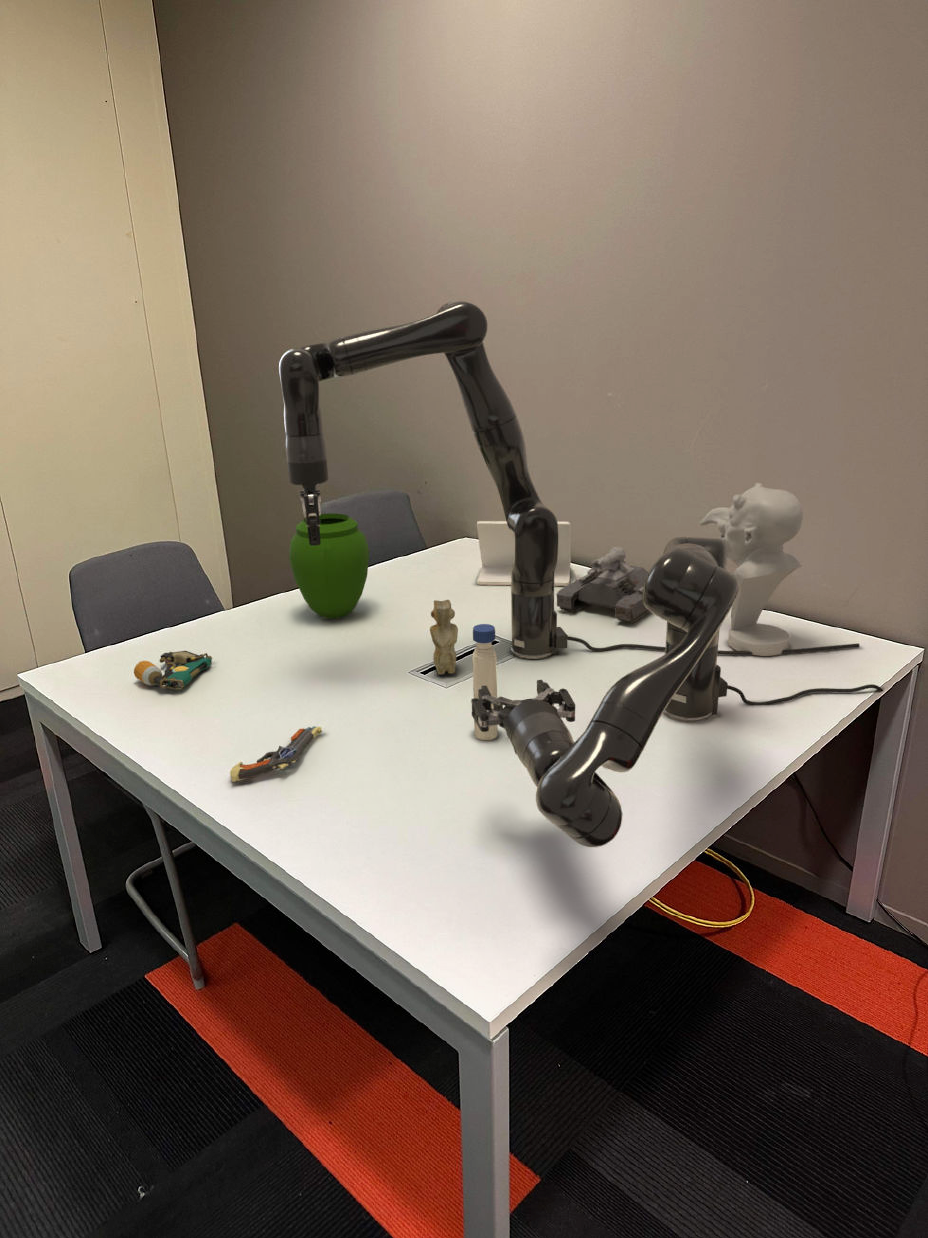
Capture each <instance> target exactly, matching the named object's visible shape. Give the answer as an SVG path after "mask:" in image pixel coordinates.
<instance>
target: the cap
mask: <svg viewBox="0 0 928 1238" xmlns="http://www.w3.org/2000/svg"><path fill="white" fill-rule="evenodd" d="M472 640H473V641H474V642H475V643H476V644H477V643H490V642H492V643H493V642H494V641H495V640H496V627H495V626H494V625H493V624H489V623H480V624H476V625H474V626H473V627H472Z"/></svg>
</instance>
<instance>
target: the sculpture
mask: <svg viewBox="0 0 928 1238" xmlns="http://www.w3.org/2000/svg"><path fill="white" fill-rule="evenodd" d="M455 615H456V611H455V609H453V608H452V602H451V601H450V599H445V600H433V610H431V612H430V617H431V618H432V619H433V620H434V621H435V622H436V623H435V624H433V625H431V626H429V633H430V636H431V640H432V641H431V642H432V643H433V645H434V648H435V649H434V652H433V656H432V657H433V659H432V660H433V665H434V667H435V668H436V671H437V674H438V675H445V674H446V672H447V673H448V674H455V673H456V666H457V665H456V663H457V652H456V649H455V644H456V643H457V642H458V637H459V635H458V634H459V627H458V626H457V624H455V623H453V622H451V621H452V620H453V619H454V618H455Z"/></svg>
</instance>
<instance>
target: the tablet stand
mask: <svg viewBox="0 0 928 1238" xmlns="http://www.w3.org/2000/svg"><path fill="white" fill-rule="evenodd" d="M557 522H558V558H557V565H556V568H555V571H554V587H556V586H557V587H566V586H567V585H569V584H570V580H571V579H570V578H571V565H572V564H571V560H572V558H571V522H569V521H557ZM476 531H477V537H478V544H479V551H480V557H481V558H480V559H481V570H480V573H479V575H478V577H477V580H476V581H477V582H476V584H478V585H484V586H485V585H486V586H487V585H489V586H490V585H491V586H511V566H512V564H513V563H514V561H515V538H514V537H513V536H512V534H511V533H510V531H509V529H508V526H507V522H506V520H505V521H504V520H477V522H476Z"/></svg>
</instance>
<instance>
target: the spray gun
mask: <svg viewBox="0 0 928 1238" xmlns="http://www.w3.org/2000/svg"><path fill="white" fill-rule="evenodd" d="M212 660H213V657H212V656H211V655H208V653H207V652H205V653H201V654H197V653H194V652H192V651H191V652H190V651H188V650H180V651H169V652H164V653H162V654H161V655H160V658H159V660H158V662H159V663H161V664H163V663H165V664H166V668H165V670H163V672H164V674H163V673H162V669H160V668H159V666H157V665H156V664H154V663H152V662H151V661H149V660H141V661H139V662H138V663H136V665H135V666H134V668H133V675H134V677H135V678H136V679H137V680H139V681H140V682H142V683H143V684H145V685H147V686H155V685H157V686H158V687H160V688H161V689H171V690H172V689H173V690H182V689H184V687H185V686H186V685H188V684H189V683H190V682H191V681H192V679H193V678H195V677H196V676H197V675H198V674H200V673H201V672H202V671H203V670H206V669H208V668H209V667H210V666H211V665H212V662H213V661H212ZM178 663H179V664H181V665H179V666H176V665H177V664H178Z"/></svg>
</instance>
